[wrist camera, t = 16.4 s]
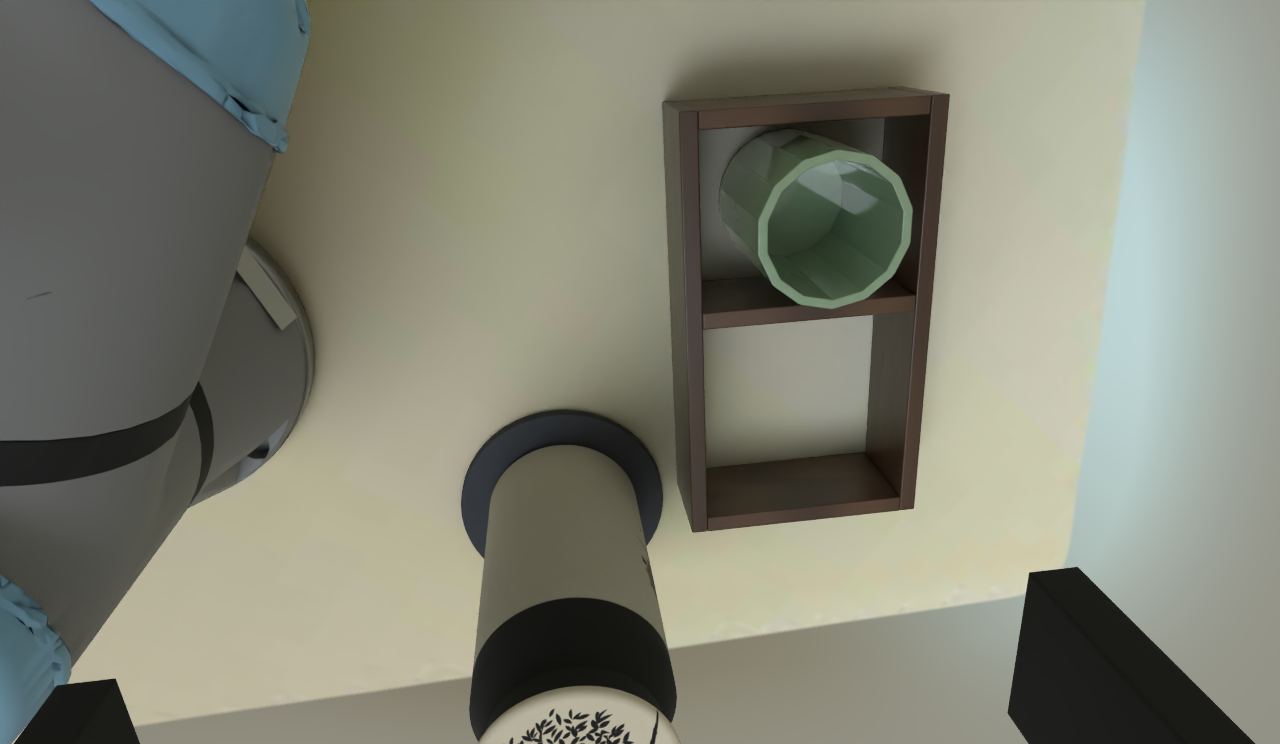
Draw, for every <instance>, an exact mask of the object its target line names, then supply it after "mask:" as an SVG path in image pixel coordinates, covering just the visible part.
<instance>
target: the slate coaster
mask: <svg viewBox="0 0 1280 744" xmlns="http://www.w3.org/2000/svg"><path fill="white" fill-rule="evenodd" d="M556 445H575V446H582V447H586V448H590V449H593V450H596V451H598V452H600V453H602V454H604V455H606V456H608V457H609V458H611V459H612V460H613V461H615V462H616V463H617V464H618V465H619V466H620V467H621V468H622V469H623V470H624V472H625V473H626V474H627V476H628V477H629V479H630V481H631V483H632V485H633V488H634V491H635V495H636V500H637V504H638V509H639V514H640V519H641V523H642V528H643V533H644V538H645V542H646V546H647V545H648V543H649V542H650V540H651V539H652V537H653V535H654V533H655V531H656V529H657V526H658V523H659V520H660V517H661V511H662V502H663V493H662V485H661V481H660V477H659V473H658V470H657V467H656V465H655V463H654V460H653V458H652V457H651V455H650V454H649V452H648V450H647V449H646V448H645V446H644V445H643V444H642V443H641V442H640V441H639V439H637V438H636V437H635V436H634V435H633V434H632V433H631V432H629V431H628V430H627V429H625V428H623V427H622V426H620V425H619V424H617V423H615V422H613V421H611V420H609V419H607V418H604V417H601V416H598V415H595V414H591V413H586V412H580V411H568V410H566V411H550V412H544V413H539V414H535V415H532V416H528V417H526V418H523V419H521V420H518V421H516V422H514V423H512V424H510V425H509V426H507V427H505V428H503V429H502V430H501V431H499V432H498V433H497V434H495V435H494V436H493V437H492V438H491V439H490V440H489V441H487V442H486V443H485V444H484V445H483V447H482V448H481V449H480V451H479V452H478V453H477V454H476V456H475V458H474V459H473V461H472V463H471V465H470V466H469V469H468V472H467V474H466V477H465V481H464V485H463V490H462V499H461V509H462V518H463V522H464V526H465V529H466V531H467V534H468V536H469V538H470V540H471V542H472V544H473V545H474V547H475V548H476V550H477V551H478V552H479V553H480V555H481V556H482V557H483V558H485V548H486V538H487V528H488V519H489V509H490V501H491V496H492V493H493V490H494V488H495V485H496V484H497V482H498V480H499V478H500V477H501V476H502V474H503V473H504V472H505V471H506V470H507V469H508V468H509V467H510V466H511V465H512V464H513V463H514V462H516V461H517V460H518V459H520V458H521V457H523V456H525V455H527V454H529V453H531V452H533V451H536V450H538V449H541V448H545V447H550V446H556Z"/></svg>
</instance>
